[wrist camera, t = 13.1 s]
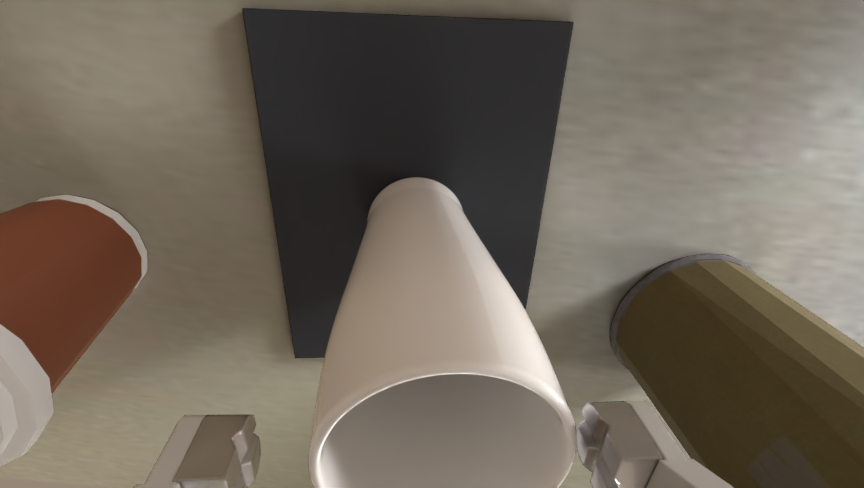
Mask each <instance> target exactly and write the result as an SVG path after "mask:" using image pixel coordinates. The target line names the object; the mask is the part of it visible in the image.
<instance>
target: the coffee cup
mask: <svg viewBox="0 0 864 488" xmlns="http://www.w3.org/2000/svg"><path fill="white" fill-rule="evenodd" d="M146 272H147V250H146V248H145V246H144V244H143V242H142V240H141V238H140V235H139V233H138V232H137V231H136V230H135V229H134V228H133V227H132V226H131V225H130V224H129V223H128V222H127V221H126V220H125V219H124V218H123V217H122V216H121V215H120V214H119V213H117V212H115V211H114V210H112V209H110V208H108V207H106V206H104V205H102V204H101V203H99V202H97V201H95V200H91V199H86V198H82V197H77V196H72V195H59V196H51V197H43V198H41V199H39V200H36V201H34V202H32V203H29V204H26V205H24V206H21V207H18V208H15V209H12V210H10V211H7V212H4V213H1V214H0V467H1V466H3V465H4V464H6V463H8V462H10V461H12V460H14V459H16V458H18V457H20V456H22V455H23V454H25V453H26V452H27V451H28V450H29V449H30V448H31V447H32V446H33V444H34V443H35V442H36V441H37V440H38V438H39V437H40V435H41V433H42V432H43V430H44V428H45V427H46V425H47V423H48V422H49V420H50V418H51V416H52V415H53V413H54V408H53V401H52V393H53V391H54V390H55V389H56V388H57V386H58V385H59V384H60V383H61V381H62V380H63V379H64V378H65V376H66V375H67V374H68V373H69V371H70V370H71V369H72V367H73V366H74V365H75V364H76V362H77V361H78V360H79V359H80V357H81V356H82V355H83V354H84V352H85V351H86V350H87V348H88V347H89V346H90V345H91V343H92V342H93V341H94V340H95V338H96V337H97V336H98V335H99V333H100V332H101V331H102V329H103V328H104V327H105V326H106V324H107V323H108V322H109V321H110V319H111V318H112V317H113V316H114V314H115V313H116V312H117V311H118V309H119V308H120V307H121V305H122V304H123V303H124V302H125V300H126V299H127V298H128V297H129V295H130V294H131V293H132V292H133V291H134V290H135V289H136V288H137V287H138V285H139V284H140V282H141V280H142V279H143V277H144V275H145V274H146Z"/></svg>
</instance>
